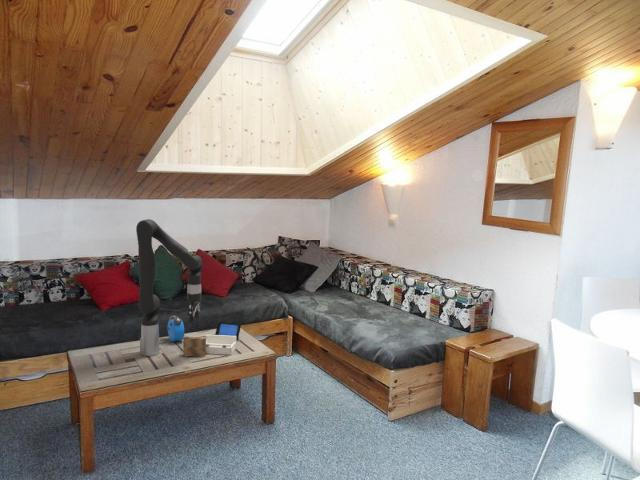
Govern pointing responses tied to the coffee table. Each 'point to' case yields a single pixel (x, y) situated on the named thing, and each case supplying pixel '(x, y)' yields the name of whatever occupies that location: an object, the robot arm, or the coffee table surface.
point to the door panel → (194, 346)
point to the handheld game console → (228, 329)
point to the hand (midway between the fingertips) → (194, 320)
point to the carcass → (220, 344)
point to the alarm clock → (175, 329)
